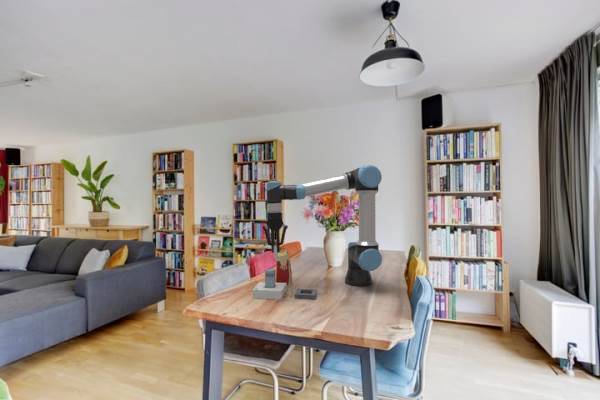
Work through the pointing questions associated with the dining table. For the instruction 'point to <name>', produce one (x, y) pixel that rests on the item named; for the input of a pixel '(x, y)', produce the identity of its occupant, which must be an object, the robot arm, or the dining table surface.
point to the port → (269, 291)
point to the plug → (270, 278)
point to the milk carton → (283, 268)
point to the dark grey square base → (306, 293)
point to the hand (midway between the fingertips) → (276, 258)
